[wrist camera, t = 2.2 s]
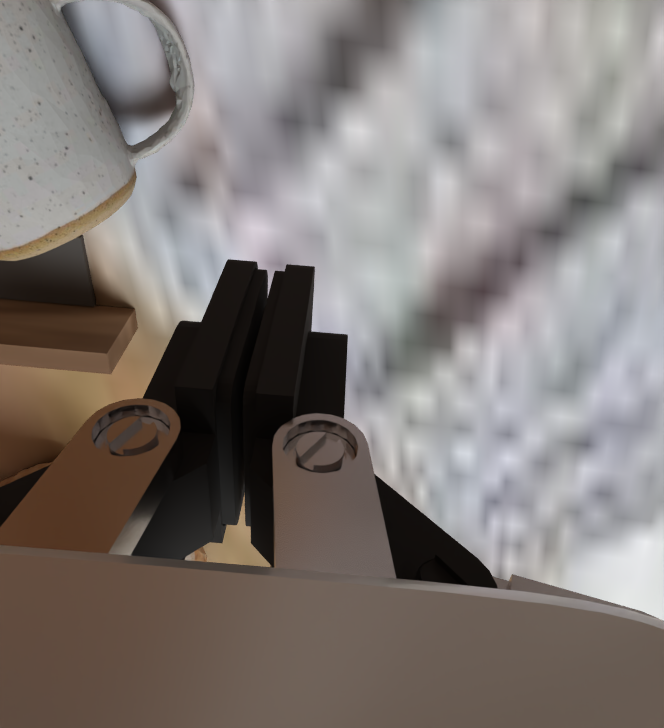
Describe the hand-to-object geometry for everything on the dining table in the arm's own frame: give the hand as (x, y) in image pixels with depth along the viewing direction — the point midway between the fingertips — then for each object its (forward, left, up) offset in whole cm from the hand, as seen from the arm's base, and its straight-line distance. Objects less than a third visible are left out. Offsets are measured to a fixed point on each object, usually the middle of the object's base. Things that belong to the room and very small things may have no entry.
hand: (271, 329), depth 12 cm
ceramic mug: (-1, -11, -16) cm, 19 cm away
